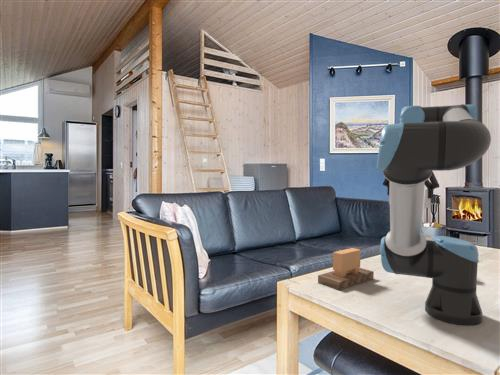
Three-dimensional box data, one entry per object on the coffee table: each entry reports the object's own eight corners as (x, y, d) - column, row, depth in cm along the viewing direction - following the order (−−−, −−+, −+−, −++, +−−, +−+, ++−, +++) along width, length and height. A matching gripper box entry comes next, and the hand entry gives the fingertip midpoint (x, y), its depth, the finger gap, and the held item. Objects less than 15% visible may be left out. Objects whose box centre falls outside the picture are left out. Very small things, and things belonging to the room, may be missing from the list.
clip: (340, 285, 130) (341, 254, 130) (332, 282, 134) (333, 252, 133) (359, 279, 138) (360, 249, 137) (351, 276, 141) (352, 247, 140)
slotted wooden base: (338, 290, 125) (339, 282, 125) (317, 282, 133) (318, 275, 133) (373, 278, 138) (373, 271, 138) (352, 272, 146) (352, 265, 146)
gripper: (451, 147, 119) (448, 208, 121) (385, 150, 139) (383, 202, 140) (441, 147, 115) (439, 209, 116) (374, 149, 134) (373, 203, 136)
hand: (408, 205), depth 128 cm, fingers open, 13 cm apart
